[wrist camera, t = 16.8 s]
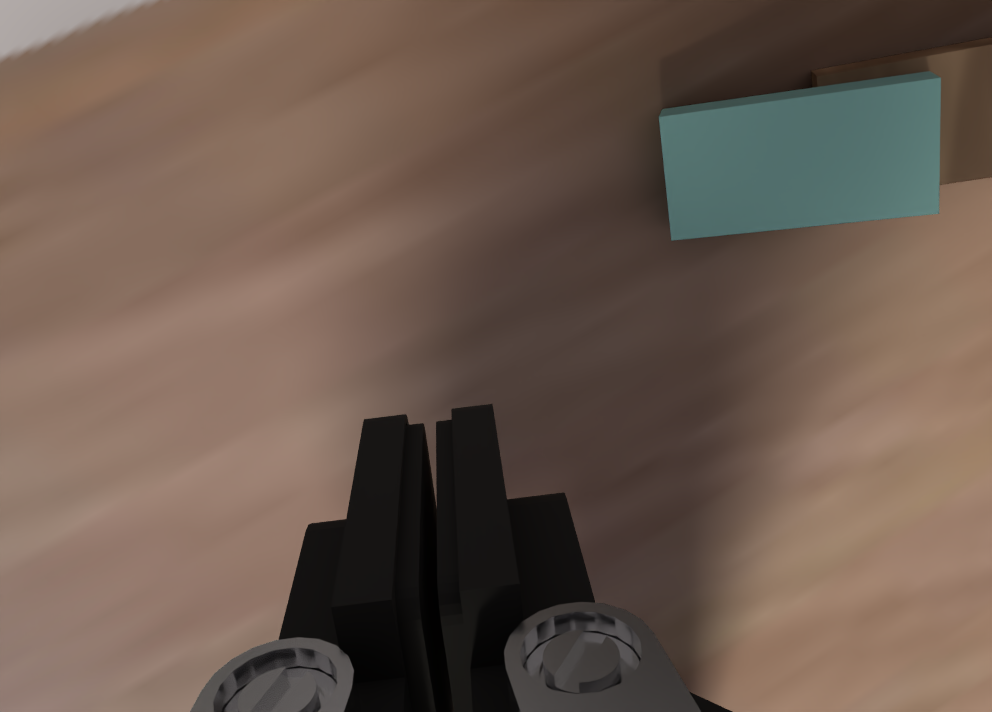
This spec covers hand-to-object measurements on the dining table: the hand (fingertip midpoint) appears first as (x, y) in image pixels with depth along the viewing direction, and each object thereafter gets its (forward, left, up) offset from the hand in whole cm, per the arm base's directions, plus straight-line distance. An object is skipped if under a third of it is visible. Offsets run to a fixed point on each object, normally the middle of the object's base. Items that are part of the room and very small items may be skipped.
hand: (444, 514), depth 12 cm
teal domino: (-6, -7, -26) cm, 28 cm away
